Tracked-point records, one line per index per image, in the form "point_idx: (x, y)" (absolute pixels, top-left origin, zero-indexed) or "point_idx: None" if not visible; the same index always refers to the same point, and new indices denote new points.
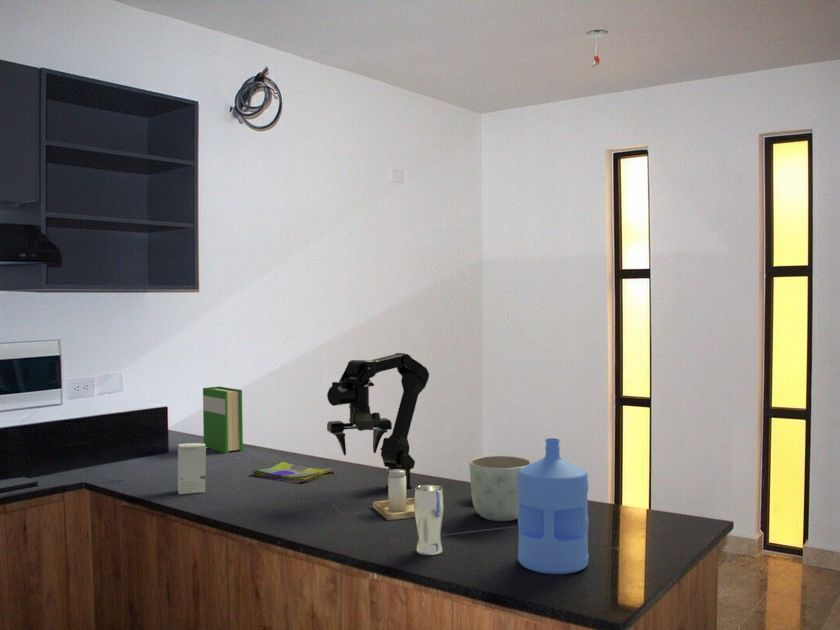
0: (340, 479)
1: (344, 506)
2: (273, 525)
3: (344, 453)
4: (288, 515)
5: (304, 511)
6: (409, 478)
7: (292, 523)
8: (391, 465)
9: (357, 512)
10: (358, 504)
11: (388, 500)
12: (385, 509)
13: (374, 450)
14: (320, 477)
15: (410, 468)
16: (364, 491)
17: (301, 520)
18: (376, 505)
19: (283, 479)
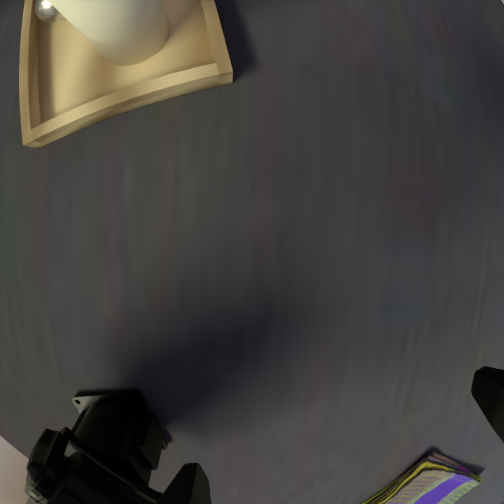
0: (319, 498)
1: (356, 148)
2: (499, 28)
3: (496, 370)
4: (497, 96)
5: (472, 122)
6: (73, 427)
7: (471, 20)
8: (130, 485)
9: (301, 47)
10: (295, 169)
11: (163, 8)
12: (180, 41)
13: (193, 480)
14: (368, 500)
15: (42, 433)
16: (255, 387)
17: (460, 33)
18: (220, 25)
19: (451, 464)
